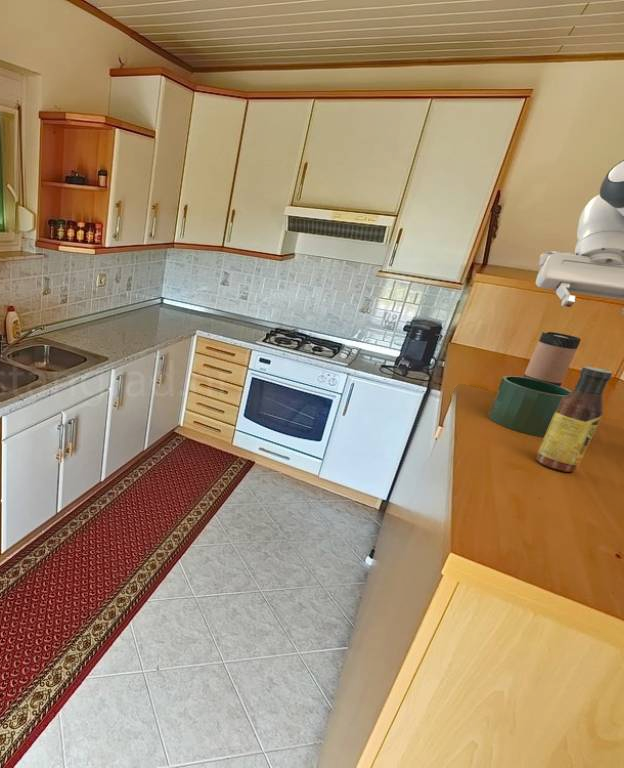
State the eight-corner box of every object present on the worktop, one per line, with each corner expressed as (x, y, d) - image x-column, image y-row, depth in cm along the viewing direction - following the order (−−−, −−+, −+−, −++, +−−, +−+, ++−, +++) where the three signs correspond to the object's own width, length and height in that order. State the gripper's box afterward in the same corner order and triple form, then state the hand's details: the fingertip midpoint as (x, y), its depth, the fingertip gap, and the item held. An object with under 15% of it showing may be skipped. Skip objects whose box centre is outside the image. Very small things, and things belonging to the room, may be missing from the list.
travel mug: (553, 416, 124) (588, 341, 117) (518, 409, 127) (550, 335, 120) (540, 407, 131) (572, 335, 124) (507, 400, 133) (537, 329, 126)
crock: (548, 424, 119) (566, 385, 115) (564, 443, 108) (584, 401, 104) (483, 408, 124) (498, 372, 121) (492, 425, 113) (509, 385, 110)
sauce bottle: (578, 477, 91) (628, 378, 84) (537, 466, 94) (582, 369, 87) (570, 464, 97) (616, 370, 90) (531, 454, 99) (572, 361, 93)
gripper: (547, 239, 103) (540, 289, 98) (679, 253, 94) (678, 309, 89) (534, 260, 108) (526, 308, 103) (657, 275, 99) (655, 329, 95)
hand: (598, 309), depth 96 cm, fingers open, 8 cm apart
